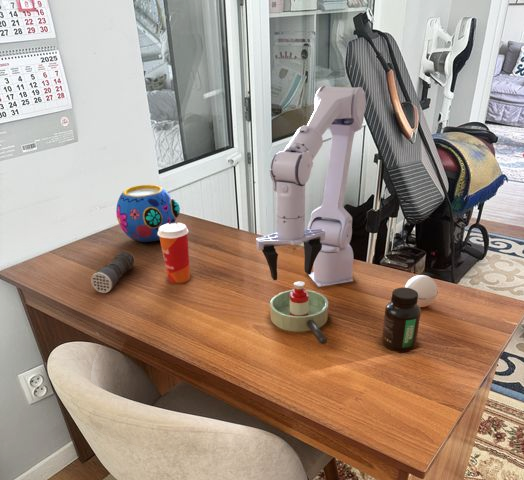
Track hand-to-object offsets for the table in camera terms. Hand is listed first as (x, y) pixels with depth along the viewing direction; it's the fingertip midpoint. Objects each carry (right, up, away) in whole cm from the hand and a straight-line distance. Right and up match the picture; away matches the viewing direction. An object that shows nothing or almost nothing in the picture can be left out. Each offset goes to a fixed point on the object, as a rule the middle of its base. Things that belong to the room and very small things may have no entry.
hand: (291, 275), depth 112 cm
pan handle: (+5, -13, -5) cm, 15 cm away
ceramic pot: (-41, +18, +48) cm, 65 cm away
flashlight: (-45, +2, +25) cm, 51 cm away
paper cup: (-28, +3, +24) cm, 37 cm away
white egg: (+31, -6, +7) cm, 32 cm away
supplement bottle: (+22, -15, -5) cm, 27 cm away
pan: (+2, -9, +5) cm, 10 cm away
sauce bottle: (+2, -9, +5) cm, 10 cm away
